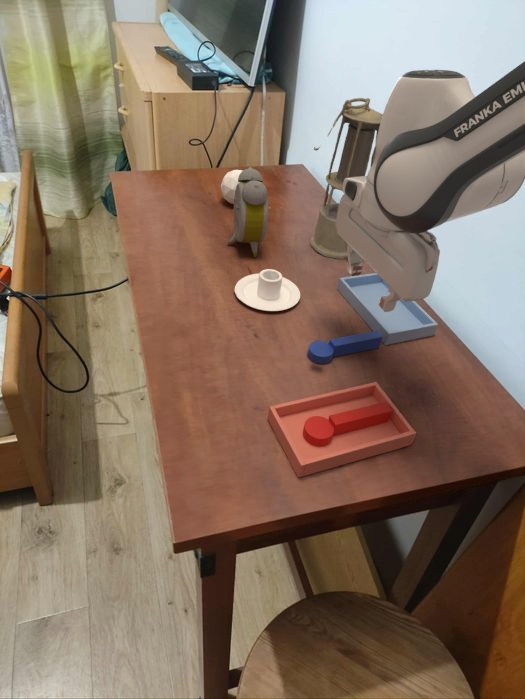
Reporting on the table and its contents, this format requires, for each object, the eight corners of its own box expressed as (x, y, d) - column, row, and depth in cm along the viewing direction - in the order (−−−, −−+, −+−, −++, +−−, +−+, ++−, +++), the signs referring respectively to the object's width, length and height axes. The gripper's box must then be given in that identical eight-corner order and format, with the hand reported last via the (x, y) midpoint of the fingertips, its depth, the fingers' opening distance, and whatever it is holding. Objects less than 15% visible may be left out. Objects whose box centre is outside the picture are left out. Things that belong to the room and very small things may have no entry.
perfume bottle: (216, 195, 115) (209, 180, 124) (243, 216, 119) (235, 200, 128) (237, 167, 112) (229, 154, 122) (265, 190, 116) (255, 175, 126)
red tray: (372, 393, 76) (376, 381, 75) (411, 445, 70) (416, 433, 68) (267, 418, 70) (269, 406, 69) (298, 477, 64) (301, 465, 62)
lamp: (362, 259, 107) (402, 108, 88) (301, 257, 105) (329, 102, 86) (351, 235, 115) (386, 91, 95) (294, 232, 113) (318, 85, 93)
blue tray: (433, 335, 89) (438, 324, 88) (385, 345, 86) (389, 333, 84) (381, 282, 101) (384, 271, 99) (336, 289, 97) (339, 277, 96)
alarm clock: (263, 260, 103) (272, 188, 93) (230, 259, 101) (235, 187, 92) (255, 232, 111) (262, 163, 102) (224, 231, 110) (228, 162, 100)
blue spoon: (370, 337, 87) (373, 326, 85) (382, 352, 84) (386, 341, 83) (303, 350, 82) (305, 338, 81) (314, 366, 80) (316, 354, 78)
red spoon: (377, 407, 74) (381, 395, 72) (392, 427, 71) (396, 416, 69) (297, 427, 69) (300, 415, 68) (310, 449, 66) (313, 437, 65)
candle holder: (223, 300, 91) (224, 279, 88) (251, 270, 99) (253, 250, 96) (285, 322, 88) (288, 301, 85) (308, 289, 96) (312, 269, 94)
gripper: (463, 240, 62) (426, 329, 71) (374, 172, 75) (353, 253, 84) (421, 245, 59) (389, 336, 68) (337, 174, 73) (320, 258, 82)
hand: (368, 290), depth 76 cm, fingers open, 8 cm apart
